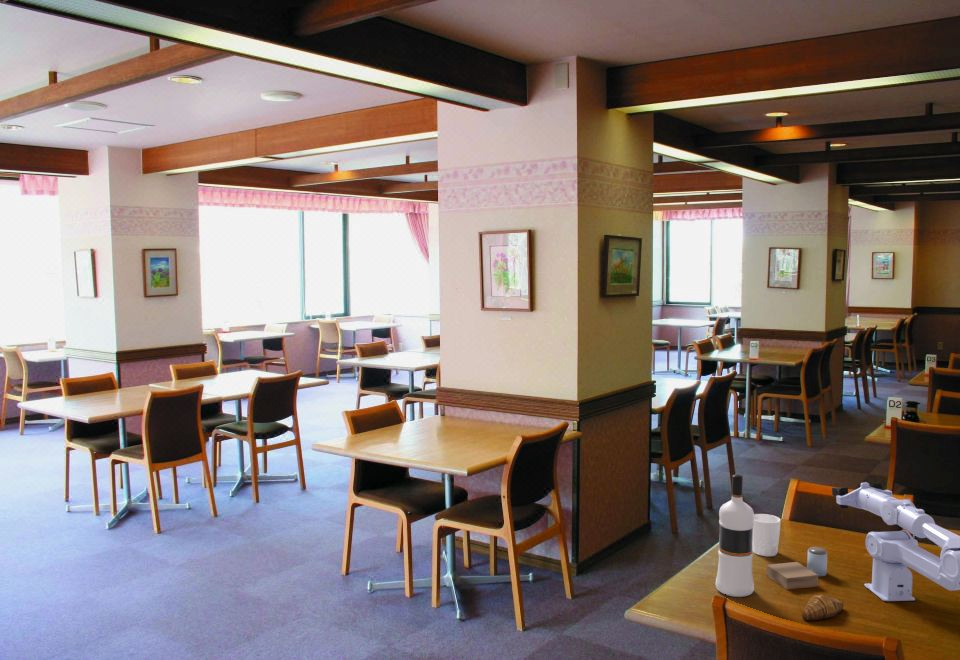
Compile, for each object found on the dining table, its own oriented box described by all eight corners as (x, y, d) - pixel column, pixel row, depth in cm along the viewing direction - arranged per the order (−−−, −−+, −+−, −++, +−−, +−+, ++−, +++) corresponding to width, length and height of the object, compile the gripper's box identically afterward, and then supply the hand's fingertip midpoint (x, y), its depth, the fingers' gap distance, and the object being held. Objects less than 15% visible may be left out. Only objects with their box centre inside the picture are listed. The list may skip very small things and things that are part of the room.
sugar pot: (829, 576, 210) (830, 553, 209) (811, 576, 209) (812, 553, 209) (821, 568, 214) (822, 546, 214) (803, 569, 214) (804, 546, 214)
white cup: (775, 547, 230) (776, 514, 229) (782, 558, 222) (783, 523, 221) (747, 546, 231) (748, 513, 230) (753, 557, 223) (754, 522, 222)
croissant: (828, 603, 194) (829, 583, 193) (853, 614, 188) (854, 594, 188) (791, 616, 187) (792, 595, 187) (816, 627, 181) (817, 606, 181)
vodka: (713, 594, 198) (715, 477, 196) (717, 580, 207) (720, 468, 204) (752, 601, 195) (755, 481, 192) (755, 586, 203) (758, 472, 200)
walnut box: (817, 586, 203) (818, 575, 203) (786, 589, 201) (786, 578, 201) (796, 572, 212) (797, 561, 212) (766, 575, 210) (766, 564, 210)
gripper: (902, 484, 204) (870, 472, 218) (848, 490, 203) (820, 478, 216) (903, 511, 204) (872, 497, 218) (850, 517, 203) (822, 503, 216)
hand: (846, 489), depth 217 cm, fingers open, 7 cm apart
